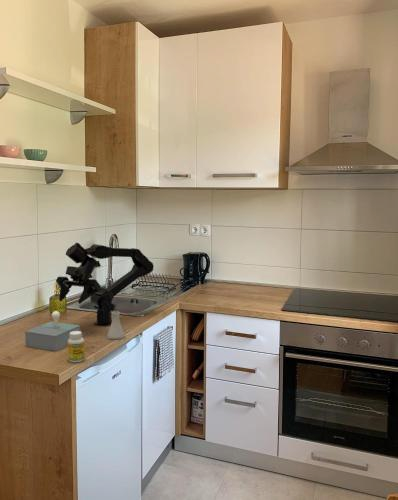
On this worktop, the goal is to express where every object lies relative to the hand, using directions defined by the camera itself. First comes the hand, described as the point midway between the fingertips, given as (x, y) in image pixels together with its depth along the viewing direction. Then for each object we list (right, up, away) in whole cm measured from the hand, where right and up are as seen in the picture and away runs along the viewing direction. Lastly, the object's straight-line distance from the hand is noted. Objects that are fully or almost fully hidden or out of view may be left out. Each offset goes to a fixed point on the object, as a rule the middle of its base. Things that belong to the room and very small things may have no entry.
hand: (69, 302), depth 179 cm
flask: (+19, -14, 0) cm, 23 cm away
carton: (-4, -15, -7) cm, 17 cm away
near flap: (-2, -9, -5) cm, 11 cm away
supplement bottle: (+9, -17, -25) cm, 31 cm away
